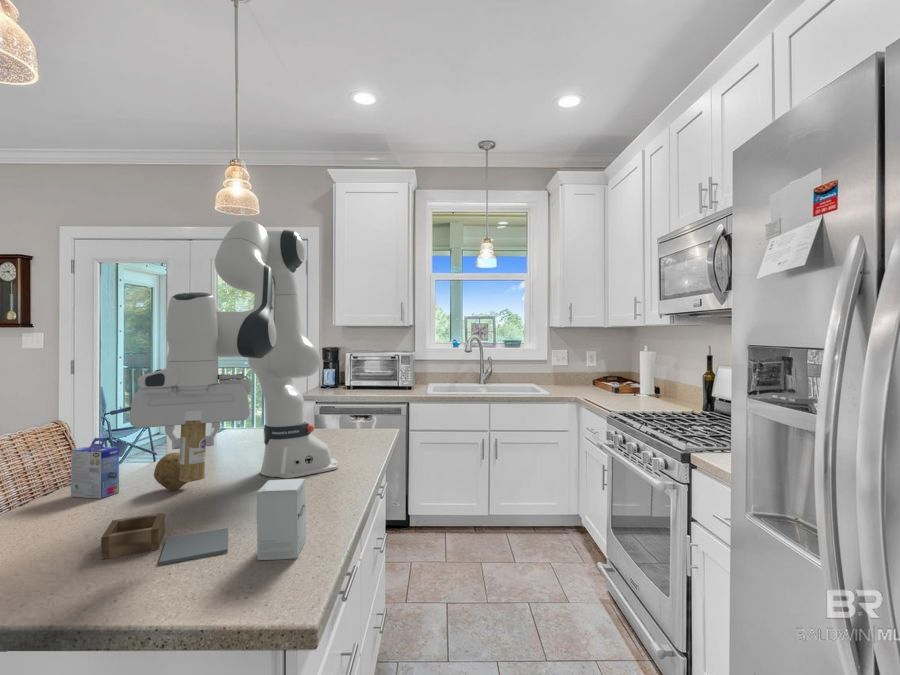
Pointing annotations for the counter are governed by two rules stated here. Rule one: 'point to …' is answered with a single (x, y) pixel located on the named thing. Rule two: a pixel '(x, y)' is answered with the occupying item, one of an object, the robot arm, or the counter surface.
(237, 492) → the counter surface
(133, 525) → the walnut holder
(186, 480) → the sprinkles bottle
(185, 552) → the rubber mat
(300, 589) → the counter surface
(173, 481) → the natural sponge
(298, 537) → the supplement box
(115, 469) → the ink cartridge box
